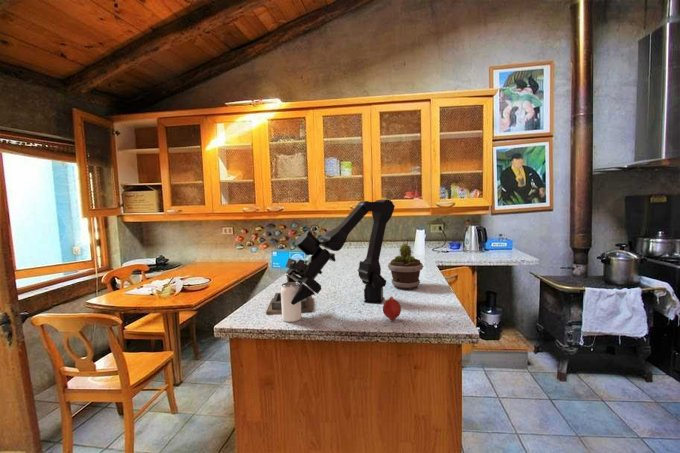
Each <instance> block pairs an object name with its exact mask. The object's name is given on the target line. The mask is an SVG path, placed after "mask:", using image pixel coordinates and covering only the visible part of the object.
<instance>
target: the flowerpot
mask: <svg viewBox="0 0 680 453" xmlns="http://www.w3.org/2000/svg"><path fill="white" fill-rule="evenodd" d="M398 252H399V254H397V255H395V256H394V258H393V259H391V261H390V262H388V265H387V268H388V270H389V271H390V272H391V276H392V279H391V283H392V285H393V286H394V288H395V289H398V290H405V291H409V290H411V289H412V290H415V289H417V288H418V286H420V283H421V280H420V274H421V271H422V270H423V268H424V265H423V263H422V262H421V260H420V259H417V258H416V257H415V256H414V255H412V253H413V250H412V247H411V245H409V244H408V242H401V245H400V246H399V251H398Z"/></svg>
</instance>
